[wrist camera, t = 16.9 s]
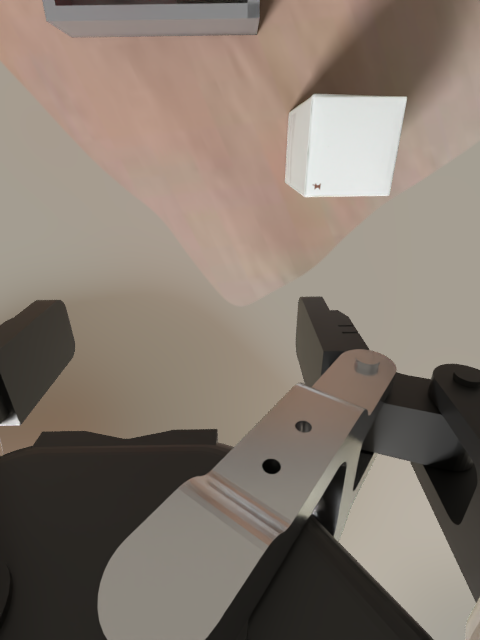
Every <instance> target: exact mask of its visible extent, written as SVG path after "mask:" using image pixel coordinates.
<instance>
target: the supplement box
mask: <svg viewBox="0 0 480 640" xmlns="http://www.w3.org/2000/svg"><path fill="white" fill-rule="evenodd" d="M406 102H407V96H404V97H402V96H369V95H344V94H313V95H312V96H311V97H310V98H308V99H307V100H306V101H304V102H303V103H301V104H300V105H298V106H297V107H296V108H294V109H293V110H292V111H290V112H289V120H288V135H287V153H286V173H285V183H287V184H288V185H289V186H291V187H292V188H293V189H295V190H296V191H297V192H299V193H300V194H301V195H303V196H304V197H346V196H389V195H390V190H391V185H392V179H393V174H394V169H395V163H396V158H397V152H398V147H399V141H400V136H401V130H402V124H403V119H404V113H405V107H406Z"/></svg>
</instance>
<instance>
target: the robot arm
mask: <svg viewBox="0 0 480 640" xmlns="http://www.w3.org/2000/svg"><path fill="white" fill-rule="evenodd" d="M74 352H75V341H74V337H73V334H72V330H71V325H70V321H69V318H68V314H67V310H66V307H65V304H64V303H63V302H62V301H61V300H36V301H35V302H33V303H32V304H31V305H29V306H28V307H27V308H26V309H24V310H23V311H22V312H20V313H19V314H18V315H16V316H15V317H14V318H12V319H10V320H8V321H5V322H4V323H3V324H2V325H0V425H2V426H3V425H21V424H22V423H23V421H24V420H25V419H26V417H27V416H28V415H29V414H30V412H31V411H32V410H33V408H34V407H35V406H36V404H37V403H38V402H39V401H40V399H41V398H42V397H43V395H44V394H45V393H46V392H47V390H48V389H49V388H50V386H51V385H52V384H53V383H54V381H55V380H56V379H57V377H58V376H59V375H60V373H61V372H62V371H63V369H64V368H65V367H66V366H67V364H68V363H69V362H70V360H71V359H72V358H73V355H74ZM296 352H297V357H298V361H299V364H300V368H301V371H302V375H303V379H304V382H305V384H303V383H297V384H296V385H295V386H293V387H292V389H291V390H290V391H289V392H288V393H287V394H286V395H285V396H284V397H283V398H282V399H281V400H280V401H279V402H278V403H277V404H276V405H275V406H274V407H273V408H272V409H271V410H270V411H269V412H268V413H267V414H266V415H265V416H264V417H263V418H262V419H261V420H260V421H259V422H258V423H257V424H256V425H255V426H254V427H253V428H252V430H250V431H249V432H248V433H247V434H246V435H245V437H243V438H242V440H241V441H240V442H239V443H238V444H237V445H236V446H235V447H232V446H228V445H225V444H222V443H218V433H217V429H205V430H204V429H203V430H202V429H201V430H171V431H166V432H162V433H156V434H151V435H146V436H141V437H136V438H131V439H122V438H117V437H112V436H106V435H102V434H96V433H92V432H87V431H60V432H42V433H41V435H40V436H39V438H38V439H37V441H36V442H35V443H34V445H33V446H30V447H27V448H23V449H19V450H16V451H13V452H10V453H7V454H5V455H3V451H2V446H1V441H0V640H433V639H432V637H431V636H430V635H429V634H428V633H427V632H426V631H425V630H424V629H423V628H422V627H421V626H420V625H419V624H418V623H417V622H416V621H415V620H414V619H413V618H412V617H411V616H410V615H409V614H408V613H407V612H406V611H405V610H404V609H403V608H402V607H401V605H400V604H399V603H398V602H397V601H396V600H395V599H394V598H393V597H392V596H391V595H390V594H389V593H388V592H387V591H386V590H385V589H384V588H383V587H382V586H381V585H380V584H379V583H378V582H377V581H376V580H375V579H374V578H373V577H372V576H371V575H370V574H369V573H368V572H367V571H366V570H365V569H364V568H363V567H362V566H361V565H360V564H359V563H358V562H357V560H356V559H355V558H354V557H353V556H351V554H350V553H348V551H347V550H346V549H345V548H344V547H343V546H342V545H341V544H340V543H339V540H340V537H341V535H342V532H343V530H344V527H345V524H346V521H347V518H348V515H349V512H350V509H351V507H352V504H353V502H354V500H355V498H356V496H357V494H358V492H359V490H360V488H361V486H362V484H363V482H364V480H365V478H366V476H367V474H368V472H369V470H370V468H371V466H372V464H373V462H374V460H375V458H376V456H377V454H382V455H387V456H391V457H395V458H399V459H403V460H407V461H410V462H411V465H412V467H413V469H414V471H415V473H416V475H417V477H418V480H419V482H420V484H421V486H422V488H423V490H424V492H425V495H426V496H427V499H428V501H429V503H430V505H431V507H432V510H433V511H434V514H435V516H436V518H437V520H438V522H439V525H440V527H441V529H442V531H443V533H444V535H445V537H446V539H447V541H448V544H449V546H450V548H451V550H452V552H453V554H454V557H455V558H456V561H457V563H458V565H459V567H460V569H461V572H462V573H463V576H464V578H465V580H466V582H467V584H468V586H469V589H470V591H471V593H472V595H473V597H474V599H475V601H476V605H475V606H474V608H473V610H472V612H471V614H470V616H469V617H468V620H467V623H466V627H465V638H466V640H480V370H478V369H475V368H472V367H469V366H464V365H459V364H444V365H440V366H438V367H437V368H435V370H434V371H433V375H432V378H431V379H426V378H420V377H414V376H408V375H404V374H400V373H397V372H396V365H395V364H394V363H393V361H392V360H391V359H389V358H388V357H386V356H385V355H382V354H380V353H378V352H374V351H370V350H369V348H368V347H367V345H366V344H365V342H364V341H363V339H362V337H361V336H360V334H359V333H358V331H357V330H356V328H355V327H354V325H353V323H352V322H351V320H350V319H349V317H348V316H346V315H344V314H343V313H341V312H339V311H338V310H331V311H330V310H329V308H328V306H327V305H326V303H325V301H324V299H323V298H322V297H300V298H299V302H298V315H297V329H296Z"/></svg>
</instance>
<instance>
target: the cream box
mask: <svg viewBox="0 0 480 640" xmlns="http://www.w3.org/2000/svg"><path fill="white" fill-rule="evenodd" d="M177 3H178V4H213V3H238V0H177Z"/></svg>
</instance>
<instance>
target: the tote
mask: <svg viewBox="0 0 480 640" xmlns="http://www.w3.org/2000/svg"><path fill="white" fill-rule="evenodd" d="M42 1H43V6H44V11H45V16H46V21H47V22H49V23H50V24H52V25H53V26H55V27H56V28H58V29H59V30H61V31H63V32H64V33H66V34H67V35H69V36H70V37H133V36H203V35H257V30H258V24H259V19H260V0H238V3H213V4H178V3H177V0H42Z"/></svg>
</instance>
